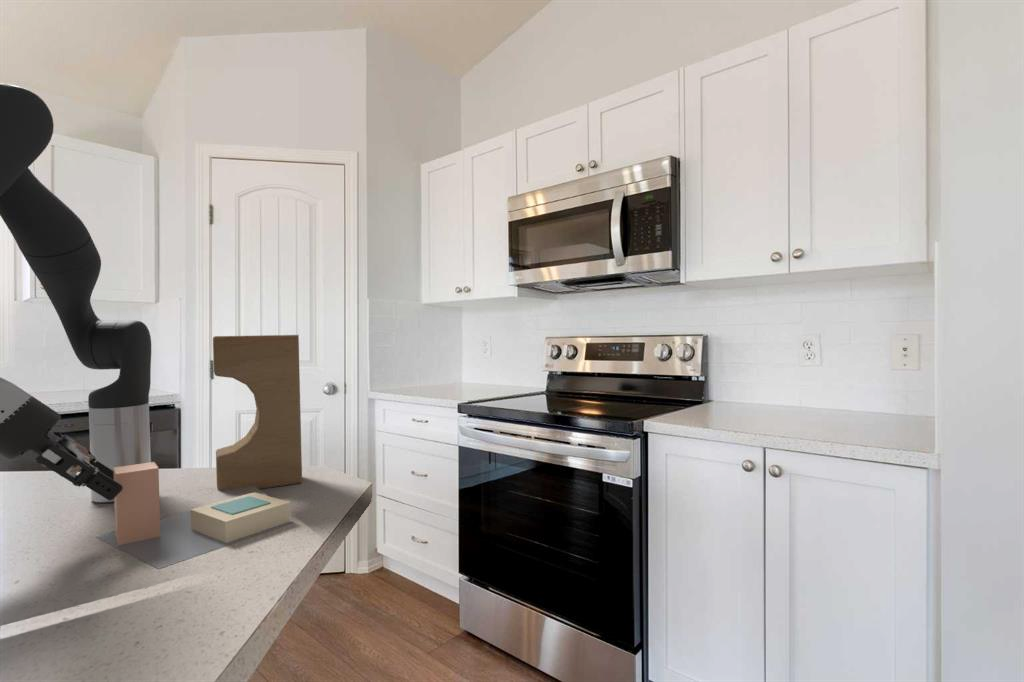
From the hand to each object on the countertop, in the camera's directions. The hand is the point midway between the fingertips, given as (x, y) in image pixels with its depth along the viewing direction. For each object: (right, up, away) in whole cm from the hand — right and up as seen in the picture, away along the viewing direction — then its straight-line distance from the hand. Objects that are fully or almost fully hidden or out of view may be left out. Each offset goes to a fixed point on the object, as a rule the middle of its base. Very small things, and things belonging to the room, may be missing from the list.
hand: (115, 487), depth 77 cm
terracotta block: (+2, -7, +2) cm, 8 cm away
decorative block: (+6, -8, +31) cm, 33 cm away
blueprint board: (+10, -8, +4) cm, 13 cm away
